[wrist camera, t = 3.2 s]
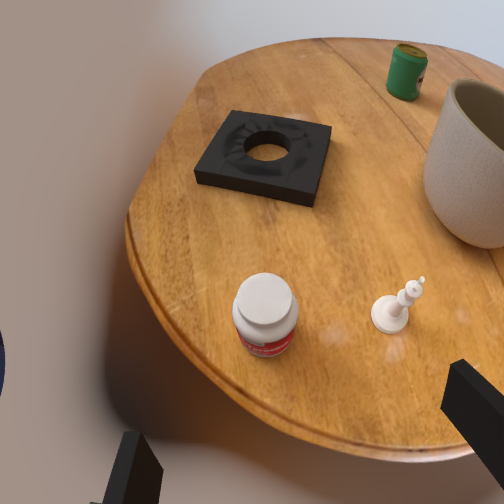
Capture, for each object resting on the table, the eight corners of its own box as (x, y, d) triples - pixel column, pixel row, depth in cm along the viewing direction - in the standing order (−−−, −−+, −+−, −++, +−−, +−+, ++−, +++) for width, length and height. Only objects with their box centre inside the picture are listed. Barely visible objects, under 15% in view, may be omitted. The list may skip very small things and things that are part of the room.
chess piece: (414, 314, 35) (450, 279, 27) (391, 342, 34) (427, 314, 25) (386, 289, 37) (415, 248, 29) (363, 315, 36) (390, 280, 27)
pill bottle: (237, 356, 34) (223, 330, 25) (242, 306, 38) (231, 263, 28) (292, 359, 34) (300, 334, 24) (294, 309, 37) (302, 266, 27)
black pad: (197, 183, 48) (193, 169, 45) (233, 122, 55) (231, 110, 53) (312, 207, 44) (314, 194, 42) (329, 139, 52) (331, 126, 49)
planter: (521, 221, 41) (574, 150, 25) (482, 293, 36) (564, 215, 19) (443, 150, 50) (475, 69, 34) (385, 198, 44) (423, 94, 28)
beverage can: (414, 106, 57) (426, 61, 47) (381, 92, 60) (390, 47, 50) (419, 93, 60) (431, 52, 50) (389, 80, 63) (398, 39, 53)
